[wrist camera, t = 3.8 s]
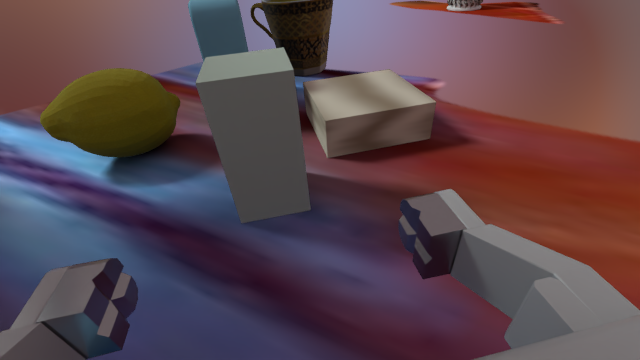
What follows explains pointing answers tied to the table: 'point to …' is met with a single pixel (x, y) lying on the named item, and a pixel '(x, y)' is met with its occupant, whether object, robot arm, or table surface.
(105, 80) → the lemon
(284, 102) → the sage block
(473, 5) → the decorative candle
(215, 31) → the blue rounded box
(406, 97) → the birch block
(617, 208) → the table surface
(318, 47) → the ceramic cup
